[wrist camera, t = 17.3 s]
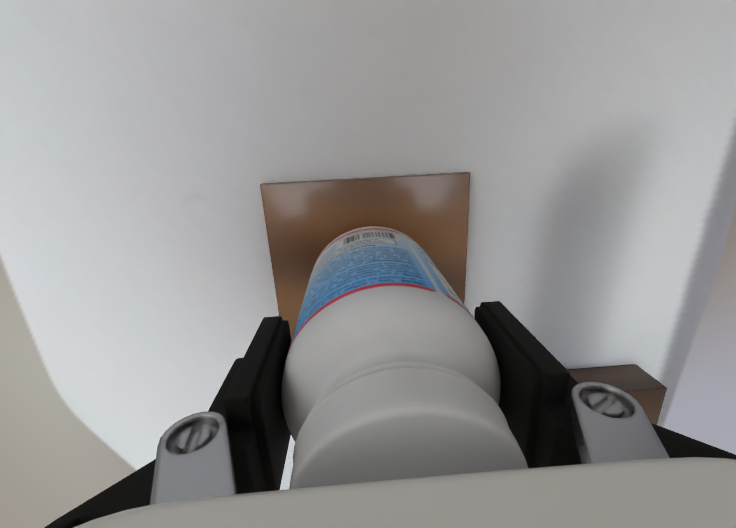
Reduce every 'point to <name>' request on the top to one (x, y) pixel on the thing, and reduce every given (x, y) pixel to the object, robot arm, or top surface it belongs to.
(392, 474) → the pill bottle
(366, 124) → the top surface
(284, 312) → the coaster
